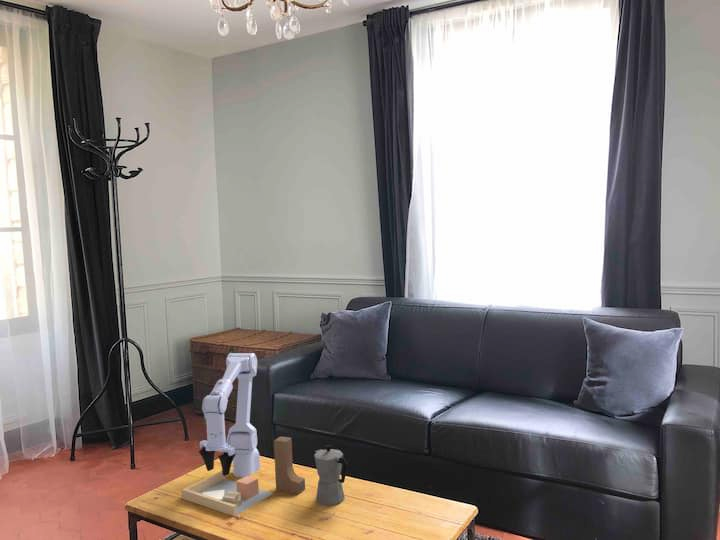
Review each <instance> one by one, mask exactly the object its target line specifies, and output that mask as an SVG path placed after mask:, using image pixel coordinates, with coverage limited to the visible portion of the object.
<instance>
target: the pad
mask: <svg viewBox="0 0 720 540" xmlns="http://www.w3.org/2000/svg"><path fill="white" fill-rule="evenodd" d="M203 494H204V495H207V496H210V497H213V498H216V499H219V500H222V499H223V496H224V490H217V491H208V492H203Z"/></svg>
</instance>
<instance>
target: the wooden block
mask: <svg viewBox="0 0 720 540" xmlns="http://www.w3.org/2000/svg"><path fill="white" fill-rule="evenodd" d="M273 448H274V449H273V451H274V468H275V469H274V472H275V473H274V474H275V476H274V477H275V491H276V492H282V493H286V494H287V493H288V494H294V495H300V494H302V493H303V492H304V491H305V490H306V479H305V477H302V476H299V475H298V474H297V473H296V472H295V469H294V466H293V443H292V437H289V436H281V435H280V436H278V437H277V438H276V439H274V440H273Z"/></svg>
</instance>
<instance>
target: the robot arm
mask: <svg viewBox="0 0 720 540" xmlns="http://www.w3.org/2000/svg"><path fill="white" fill-rule="evenodd" d="M225 362H226V363H225V365H226V369H225V371H224V374H223V376H222V378H220V379H218V380H217V381H216V382H215V385H214V387H213V388H212V389H211V390H212V391H211V392H210V393H209V395H208V394H207V395H206V396H205V397H204V398H203V400H202V404H201V410H202V412H203V416H204V417H203V418H204V419H205V422H206V423H205V424H206V438H207V440H206V439H205V440H204V439H203V440H201V441H199V448H201V449H200V450H199V451H198V453H199V454H200V456H201V457H202V460H203V463H204V464H205V468H206V470H207V472H210V471H212V470H214V468H215V454H216V452H219V453H223V454H220V455H218V459H219V461H220V464H221V466H220V467H221V471H222V473H223V476H228V475H230V472H231V467H232V470H233V471H232V472H233V476H234V477H236V478H243V477H245V476H250V477H251V476H252V475H253V474H255V473H256V472H258V471H260V470H261V462H260V452H259V450H258V448H257V445H258V436H257V429H256V427H255V426H253V424H252V423H250V420H251V406H252V405H251V404H252V403H251V402H252V387H253V378H254V377H255V376H257V372H258V371H257V370H258V358H257V355H256V354H255V353H254V352H250V353H248V352H247V353H245V352H244V353H243V352H242V353H240V352H239V353H237V352H236V353H233V352H229V353H228V354H227V356H226V360H225ZM236 379H238V380H237V381H238V385H237V386H238V387H237V397H236V400H237V401H236V413H235V414H236V415H235V424H233V425H232V426H231V427H230V428H229V429H228V434H227V436H226V423H225V412H226V411H227V407H228V406H227V405H228V402H229V399H228V398H229V397H230V395H231V393H232V391H233V389H234V388H233V387H234V385H233V382H234V381H235V380H236Z"/></svg>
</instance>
